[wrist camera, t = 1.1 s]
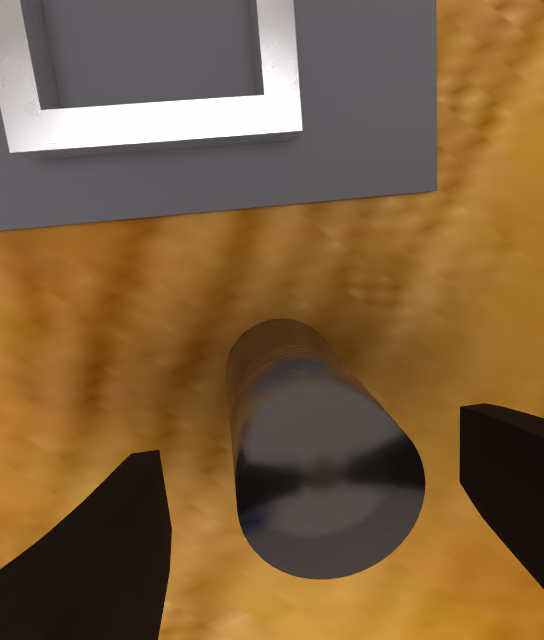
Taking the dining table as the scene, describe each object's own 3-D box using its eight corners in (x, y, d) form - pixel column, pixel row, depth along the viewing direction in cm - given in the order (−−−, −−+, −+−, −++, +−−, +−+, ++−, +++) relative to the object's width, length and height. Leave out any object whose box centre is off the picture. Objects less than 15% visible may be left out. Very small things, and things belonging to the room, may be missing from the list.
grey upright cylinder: (328, 312, 17) (424, 395, 9) (334, 412, 18) (426, 562, 10) (220, 325, 17) (226, 422, 9) (232, 427, 18) (247, 593, 10)
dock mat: (428, -229, 14) (434, -241, 13) (431, 191, 17) (437, 190, 16) (-240, -230, 12) (-256, -245, 12) (-109, 240, 15) (-117, 241, 14)
